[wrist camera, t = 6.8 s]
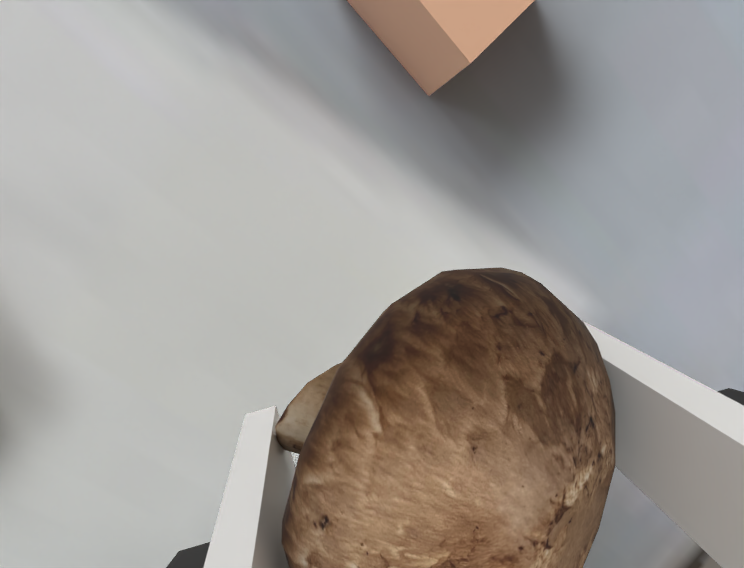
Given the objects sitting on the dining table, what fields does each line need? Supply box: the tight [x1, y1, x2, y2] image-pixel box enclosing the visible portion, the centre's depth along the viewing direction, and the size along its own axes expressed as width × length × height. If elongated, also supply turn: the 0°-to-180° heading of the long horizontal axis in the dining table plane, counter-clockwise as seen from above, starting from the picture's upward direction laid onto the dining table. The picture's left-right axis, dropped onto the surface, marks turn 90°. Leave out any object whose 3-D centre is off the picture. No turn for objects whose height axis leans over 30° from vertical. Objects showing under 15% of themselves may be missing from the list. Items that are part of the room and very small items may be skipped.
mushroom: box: [275, 268, 615, 568], centre depth 10 cm, size 8×8×6 cm
